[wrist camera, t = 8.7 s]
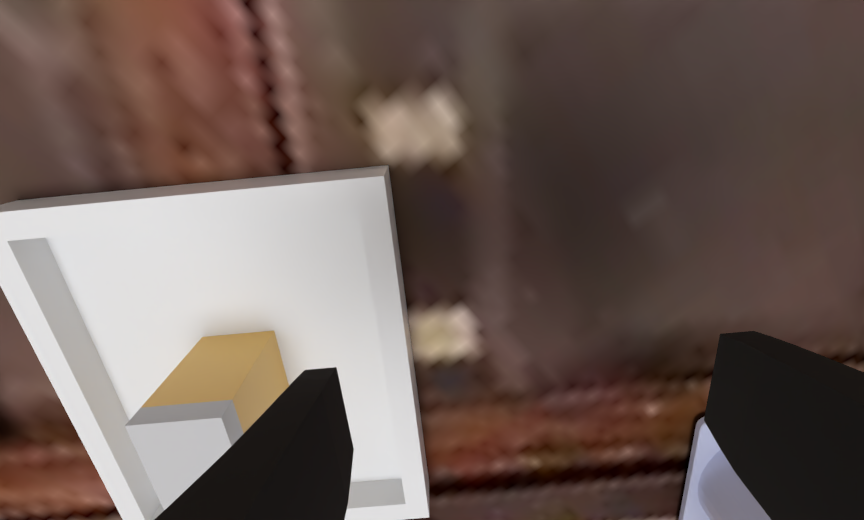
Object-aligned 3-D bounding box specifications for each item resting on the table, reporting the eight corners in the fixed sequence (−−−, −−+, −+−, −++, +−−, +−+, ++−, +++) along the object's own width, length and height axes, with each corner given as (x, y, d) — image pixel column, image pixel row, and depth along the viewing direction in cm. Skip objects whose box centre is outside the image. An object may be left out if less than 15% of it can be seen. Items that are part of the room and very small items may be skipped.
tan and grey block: (274, 330, 18) (221, 417, 13) (297, 416, 19) (257, 519, 15) (202, 336, 18) (124, 425, 13) (231, 421, 20) (171, 526, 15)
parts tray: (388, 165, 16) (383, 176, 14) (428, 480, 22) (429, 517, 20) (16, 200, 16) (-37, 215, 14) (158, 502, 22) (134, 541, 20)
